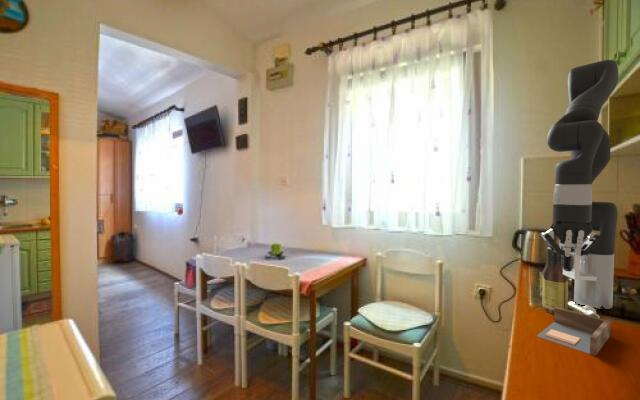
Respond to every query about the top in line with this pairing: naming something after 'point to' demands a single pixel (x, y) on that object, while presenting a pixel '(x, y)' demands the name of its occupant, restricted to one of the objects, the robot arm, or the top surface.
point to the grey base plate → (567, 336)
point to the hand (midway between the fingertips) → (569, 270)
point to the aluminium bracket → (577, 270)
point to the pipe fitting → (582, 309)
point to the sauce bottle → (554, 283)
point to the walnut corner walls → (585, 326)
